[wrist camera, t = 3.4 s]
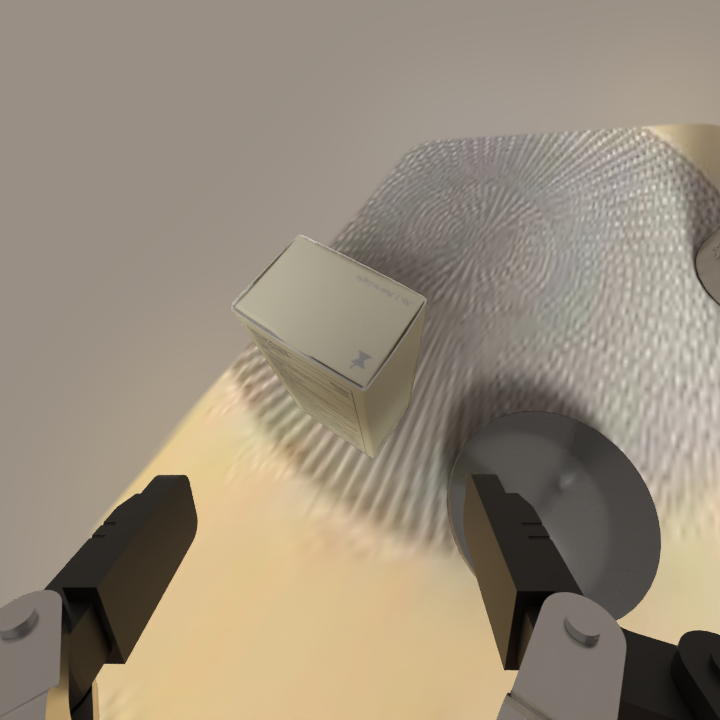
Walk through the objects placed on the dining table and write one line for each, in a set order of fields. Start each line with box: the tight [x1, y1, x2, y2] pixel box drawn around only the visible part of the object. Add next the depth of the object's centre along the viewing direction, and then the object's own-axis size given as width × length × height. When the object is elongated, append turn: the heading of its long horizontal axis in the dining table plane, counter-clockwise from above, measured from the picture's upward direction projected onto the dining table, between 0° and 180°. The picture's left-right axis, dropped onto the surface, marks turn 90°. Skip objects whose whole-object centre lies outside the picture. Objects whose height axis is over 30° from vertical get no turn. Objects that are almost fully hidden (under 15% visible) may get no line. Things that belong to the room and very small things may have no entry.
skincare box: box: [231, 235, 427, 458], centre depth 19 cm, size 6×4×12 cm
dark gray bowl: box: [447, 411, 661, 621], centre depth 20 cm, size 10×10×3 cm
